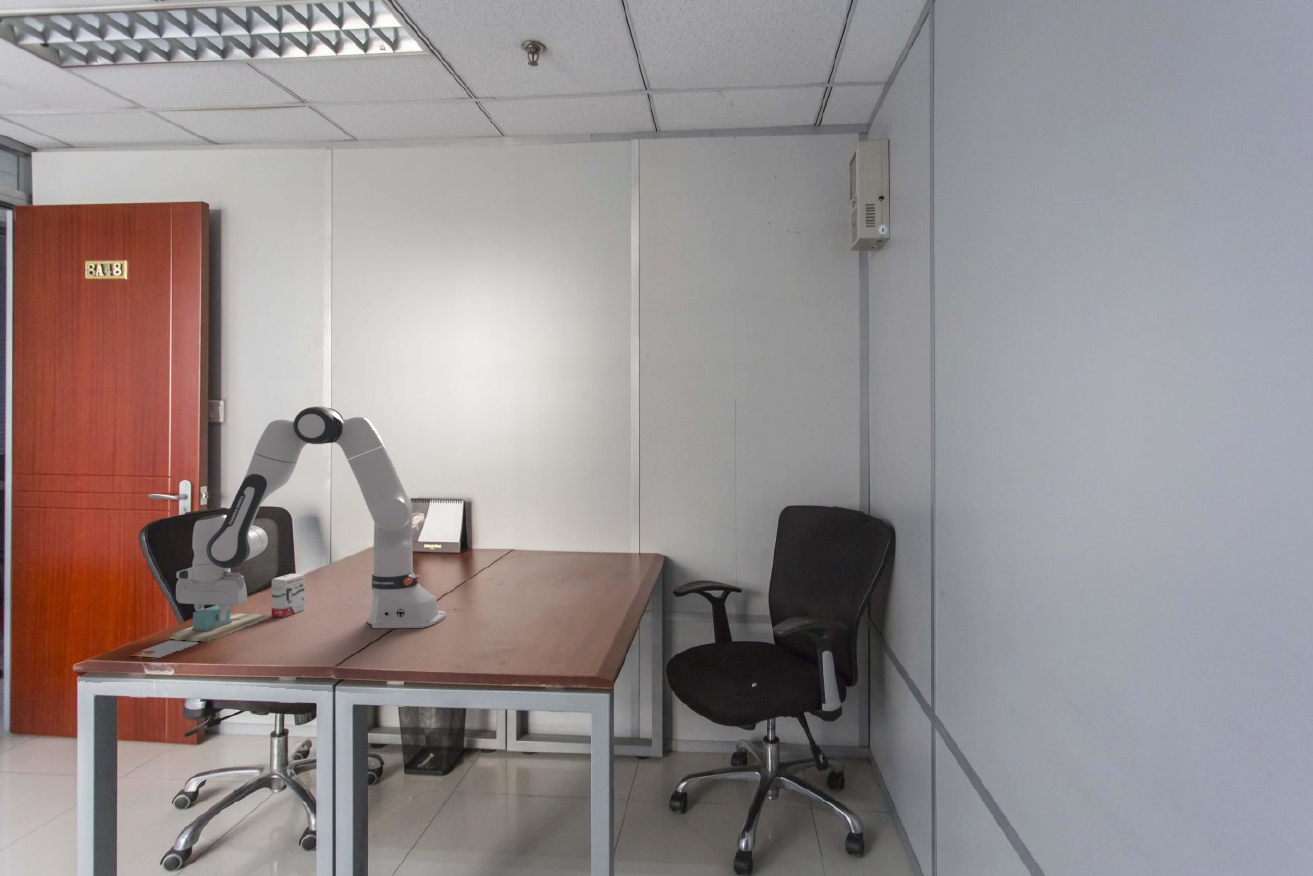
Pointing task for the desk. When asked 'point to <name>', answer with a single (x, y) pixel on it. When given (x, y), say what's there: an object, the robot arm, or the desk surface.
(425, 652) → the desk surface
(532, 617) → the desk surface
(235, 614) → the birch board
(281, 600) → the ink box
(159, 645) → the rest mat
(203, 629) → the sanding block
